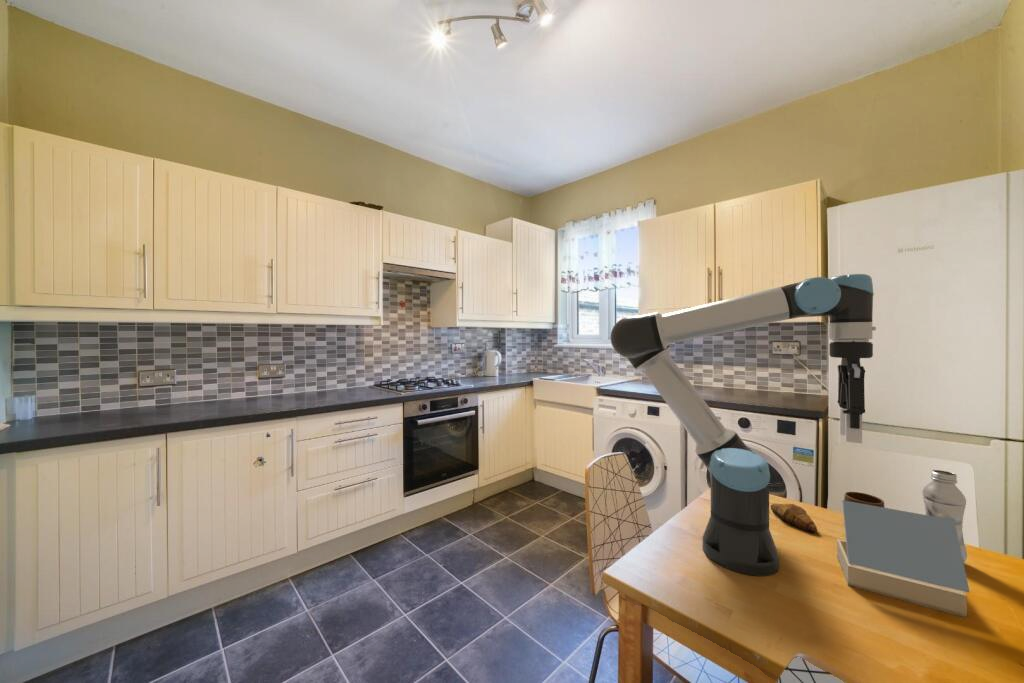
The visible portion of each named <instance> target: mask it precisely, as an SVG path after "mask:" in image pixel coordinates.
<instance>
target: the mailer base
mask: <svg viewBox="0 0 1024 683" xmlns="http://www.w3.org/2000/svg"><path fill="white" fill-rule="evenodd" d="M836 558H837V560H838V563H839V566H840V568H841V571H842V573H843V576H844V579H845V581H846V583H847V586H849V587H852V588H856V589H860V590H864V591H868V592H871V593H874V594H877V595H882V596H886V597H889V598H894V599H897V600H901V601H903V602H907V603H911V604H915V605H919V606H923V607H926V608H930V609H933V610H937V611H941V612H945V613H948V614H951V615H954V616H955V615H956V616H959V617H961V618H962V617H963V618H966V619H967V618H968V617H967V616H968V615H967V612H968V607H967V606H968V604H967V603H968V599H967V598H968V596H967V594H966V592H964V591H960V590H956V589H952V588H948V587H944V586H940V585H936V584H932V583H928V582H924V581H920V580H916V579H912V578H908V577H904V576H900V575H896V574H892V573H888V572H884V571H880V570H876V569H871V568H867V567H863V566H859V565H855V564H851V563H848V555H847V544H846V540H845V539H844V540H843V539H839V538H837V539H836Z"/></svg>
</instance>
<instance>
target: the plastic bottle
mask: <svg viewBox="0 0 1024 683" xmlns="http://www.w3.org/2000/svg"><path fill="white" fill-rule="evenodd" d="M957 478H958V476H957V474H956V473H954V472H951V471H948V470H947V471H946V470H941V469H933V470H931V475H930V479H931V480H932V481H930V482H929V483H927V485H925V486H924V487H923V489H922V491H921V492H922V494H921V495H922V500H923V503H924V509H925V515H928V516H934V517H939V518H945V519H950V520H954V521H955V526H956V530H957V535H958V540H959V544H960V549H961V554H962V558H963V563H964V564H965V563H966V562H967V558H968V551H967V548H966V544H965V541H964V532H963V524H964V523H963V522H964V516H965V515H964V514H965V509H966V505H967V498H966V496H965V495H964V494H963V492H962V491H961V490H960V489H959V488H958V487H957V485H956V484H958V479H957Z"/></svg>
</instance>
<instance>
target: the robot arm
mask: <svg viewBox="0 0 1024 683" xmlns="http://www.w3.org/2000/svg"><path fill="white" fill-rule="evenodd" d="M874 295H875V293H874V288H873V279H872V277H871V275H869V274H866V273H855V274H854V273H853V274H851V273H850V274H841V275H836V276H833V277H831V278H829V277H824V276H815V277H810V278H806V279H804V280H802V281H799V282H795V283H791V284H787V285H784V286H779V287H778V286H777V287H774V288H769V289H765V290H761V291H756V292H753V293H748V294H745V295H741V296H735V297H731V298H728V299H727V298H726V299H724V300H719V301H714V302H710V303H705V304H702V305H698V306H693V307H691V308H686V309H685V308H684V309H681V310H678V311H677V310H676V311H674V312H668V313H664V314H662V313H659V312H657V311H656V312H652V313H651V312H650V313H647V314H641V315H632V316H626V317H623V318H621V319H620V320H618V321H617V322H616V323H615V324H614V325H613V326H612V329H611V331H610V343H611V346H612V348H613V349H614V351H615V352H616V353H617V354H619V356H622V357H624V358H626V359H627V360H628V362H629V363H630V364H631V366H632V367H633V369H634V370H635V371H640V372H643V373H644V375H645V376H646V377H647V378H648V380H649V381H650V382H651V384H652V385H653V387H654V388H655V390H656V391H657V392H658V393H659V395H660V396H661V398H662V399H663V400H664V402H665V403H666V404H667V406H668V407H669V409H670V410H671V411H672V413H673V414H674V415H675V417H676V418H677V419H678V421H679V422H680V423H681V425H682V426H683V428H685V430H686V432H687V433H688V435H689V436H690V437H691V439H692V440H693V441H694V443H695V444H696V445H695V452H694V453H695V454H696V455H697V457H698V458H699V459H700V461H701V462H702V463H703V465H704V466H705V467H706V468H705V469H707V470H708V472H709V480H710V517H709V519H708V521H707V522H708V523H707V525H706V526H705V529H704V533H703V535H702V551H703V552H704V553H705V555H706V556H707V557H708V558H709V559H710V560H711V561H713V562H715V563H716V564H718V565H720V566H722V567H724V568H726V569H729V570H731V571H733V572H737V573H741V574H744V575H751V576H760V577H761V576H769V575H773V574H775V573H777V571H778V570H779V569H780V568H779V567H780V557H779V552H778V550H777V548H776V543H775V542H774V538H773V536H772V533H771V531H770V482H771V473H770V467H769V463H768V462H767V460H766V459H765V458H764V457H762V456H761V455H760V454H755V452H754V451H753V450H752V449H751V448H750V447H748V445H746V443H745V442H744V441H743V440H742V438H741V437H740V436H739V435H738V433H737V432H736V430H734V429H729V428H726V427H725V426H724V425H723V423H722V422H721V421H720V420H719V418H718V417H717V415H716V414H715V412H714V411H712V409H711V407H710V406H709V405H708V403H707V402H706V401H705V400H704V398H703V397H702V396H701V394H700V393H699V392H698V390H697V389H696V388H695V387H694V385H693V384H692V382H691V381H690V380H689V379H688V377H687V375H685V373H684V372H683V371H682V370H681V368H680V367H679V366H678V365H677V363H676V362H675V361H674V359H673V358H672V356H671V354H670V353H671V346H670V344H674V343H675V344H676V343H680V342H685V341H690V340H694V339H700V338H704V337H708V336H713V335H719V334H723V333H727V332H728V333H729V332H733V331H734V332H735V331H738V330H743V329H748V328H753V327H757V326H762V325H767V324H772V323H777V322H782V321H786V320H792V319H798V318H809V317H811V318H813V317H829V318H828V319H829V323H828V339H829V340H831V342H830V343H829V344H828V345H829V356H830V358H837V359H838V358H839V359H841V361H840V362H841V364H838V365H837V372H838V378H837V379H838V380H837V381H838V383H837V392H838V394H837V404H838V406H839V435H840V436H844V437H845V438H844V439H845V440H844V441H845V442H846V443H855V444H863V414H865V413H866V409H865V408H866V406H865V405H866V404H865V403H866V402H865V401H866V400H865V373H866V369H865V367H864V366H863V365H862V366H861V359H871V358H873V356H874V353H873V352H874V349H873V348H874V343H873V342H871V341H870V340H872V339H873V332H874V331H876V330H877V327H876V326H874V325H873V310H874V307H873V306H874Z"/></svg>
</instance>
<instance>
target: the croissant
mask: <svg viewBox="0 0 1024 683" xmlns="http://www.w3.org/2000/svg"><path fill="white" fill-rule="evenodd" d="M770 510H771V511H772V512H773V513H774V514H775V515H776V516H778V517H780V518H781V519H782V520H783V521H784V522H787V523H789V524H791V525H794V526H795V527H798V528H800V529H801V530H803V531H805V532H810V533H813V534H814V533H817V531H818V528H817V526H816V524H815V522H814V520H813V519H812V518H811V517H810V516H809V515H808V513H807V511H806V510H805V509H804V508H802V506H798V505H796V504H794V503H785V504H783V503H772V504H771V505H770Z"/></svg>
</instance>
